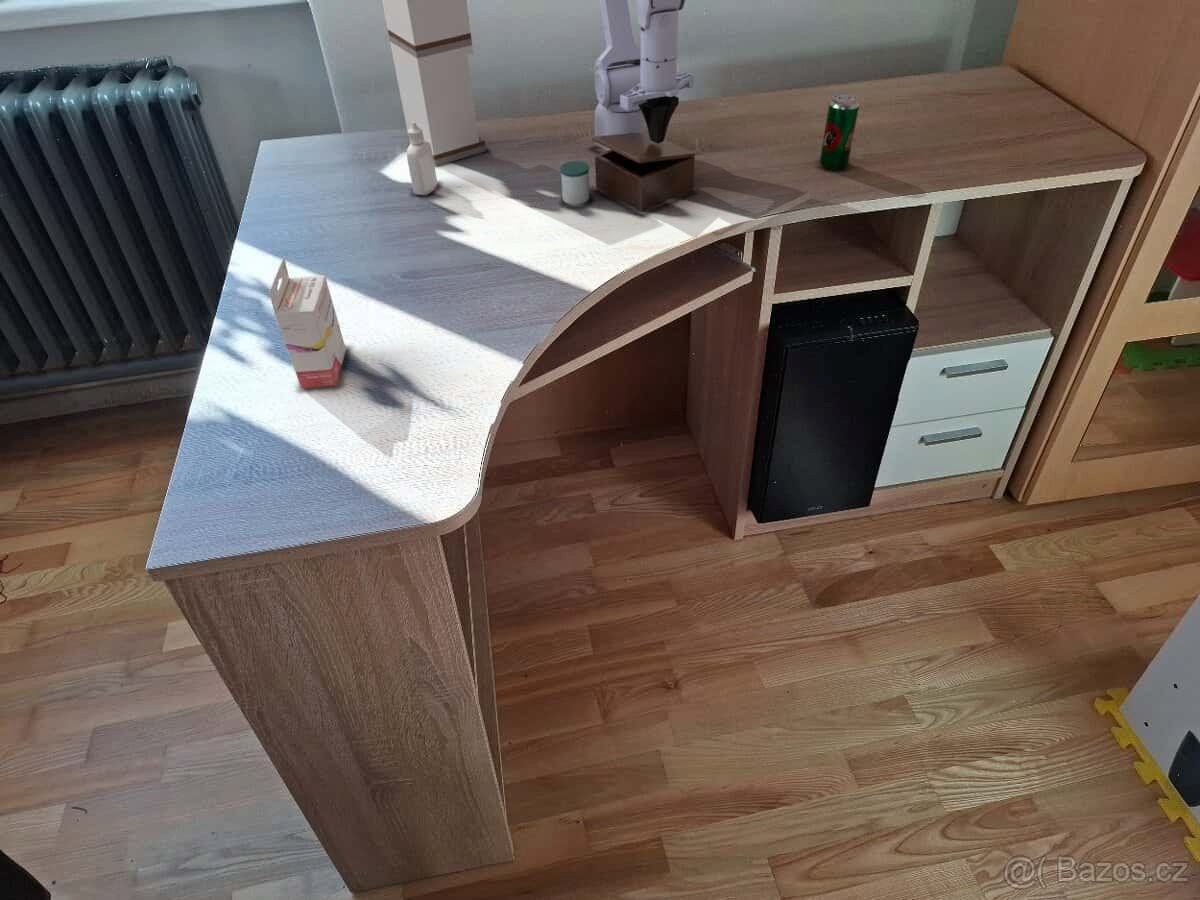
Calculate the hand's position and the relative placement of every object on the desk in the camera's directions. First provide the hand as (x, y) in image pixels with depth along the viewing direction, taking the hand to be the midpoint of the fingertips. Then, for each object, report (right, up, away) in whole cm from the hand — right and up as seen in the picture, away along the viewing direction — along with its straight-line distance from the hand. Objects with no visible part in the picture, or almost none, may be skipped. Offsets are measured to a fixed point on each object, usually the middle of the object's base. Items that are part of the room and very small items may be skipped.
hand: (656, 140), depth 138 cm
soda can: (+33, -1, +10) cm, 34 cm away
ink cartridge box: (-46, -42, -29) cm, 69 cm away
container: (-14, -9, +3) cm, 17 cm away
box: (-2, -7, +5) cm, 9 cm away
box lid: (-2, -2, -1) cm, 3 cm away
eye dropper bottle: (-41, -6, +8) cm, 42 cm away
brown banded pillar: (-39, +6, +20) cm, 44 cm away
